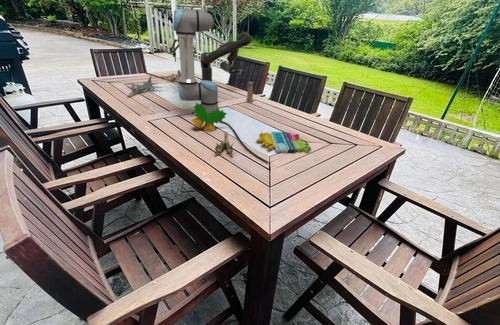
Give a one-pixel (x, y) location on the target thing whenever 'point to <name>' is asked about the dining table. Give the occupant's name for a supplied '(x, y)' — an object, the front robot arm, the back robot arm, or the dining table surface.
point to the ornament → (207, 117)
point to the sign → (283, 142)
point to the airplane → (143, 87)
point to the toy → (173, 76)
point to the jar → (250, 94)
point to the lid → (250, 83)
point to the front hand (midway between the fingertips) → (184, 61)
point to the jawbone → (224, 145)
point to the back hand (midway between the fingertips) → (240, 73)
